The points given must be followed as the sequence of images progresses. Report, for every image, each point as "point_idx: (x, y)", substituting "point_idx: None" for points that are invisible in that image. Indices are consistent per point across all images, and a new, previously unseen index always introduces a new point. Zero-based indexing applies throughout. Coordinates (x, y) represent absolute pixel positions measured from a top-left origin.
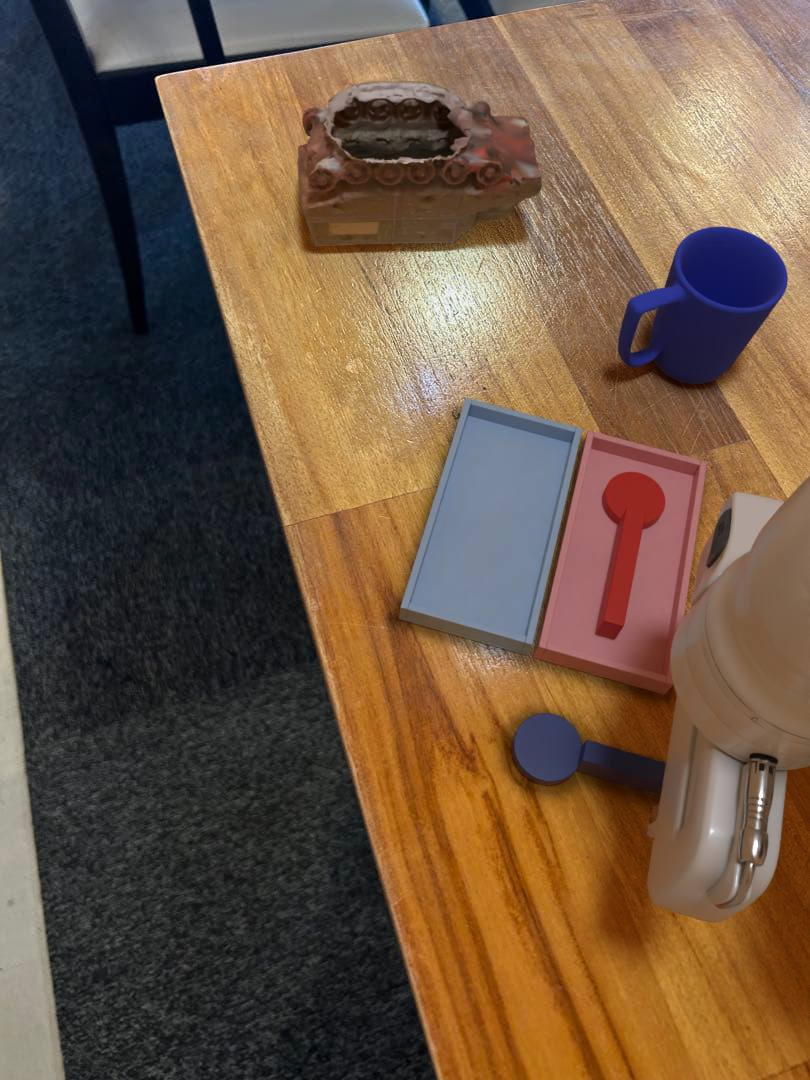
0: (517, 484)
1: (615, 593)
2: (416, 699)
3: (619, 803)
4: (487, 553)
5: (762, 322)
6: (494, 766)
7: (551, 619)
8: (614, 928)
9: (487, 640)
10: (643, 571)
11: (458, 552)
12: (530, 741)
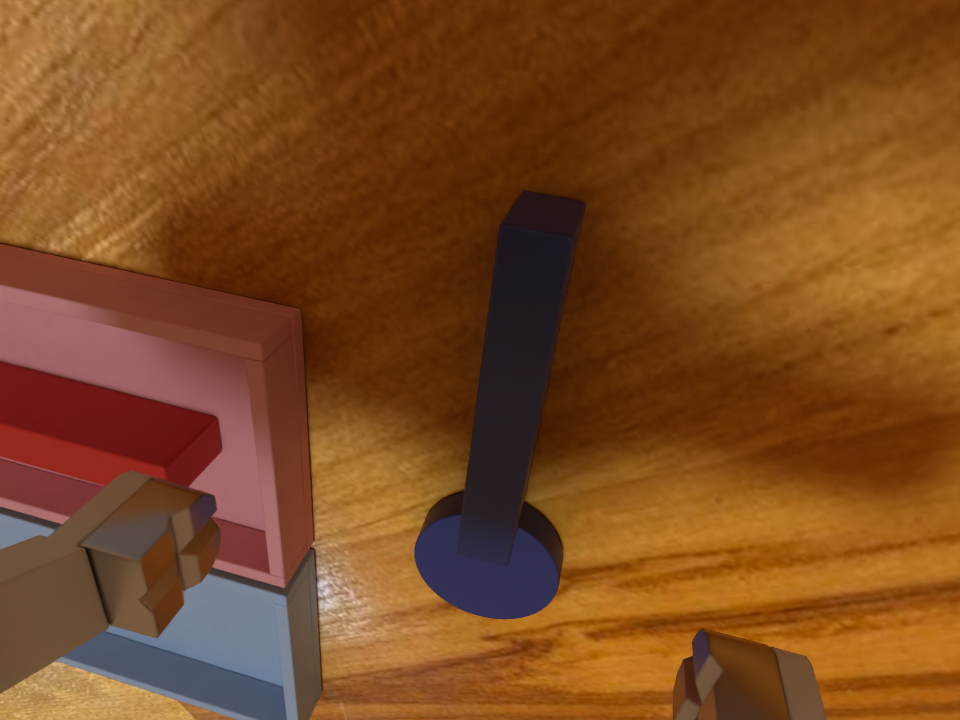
0: (16, 537)
1: (98, 475)
2: (442, 691)
3: (587, 427)
4: None
5: None
6: (537, 617)
7: (221, 562)
8: (903, 467)
9: (309, 617)
10: (39, 343)
11: (179, 626)
12: (480, 595)
